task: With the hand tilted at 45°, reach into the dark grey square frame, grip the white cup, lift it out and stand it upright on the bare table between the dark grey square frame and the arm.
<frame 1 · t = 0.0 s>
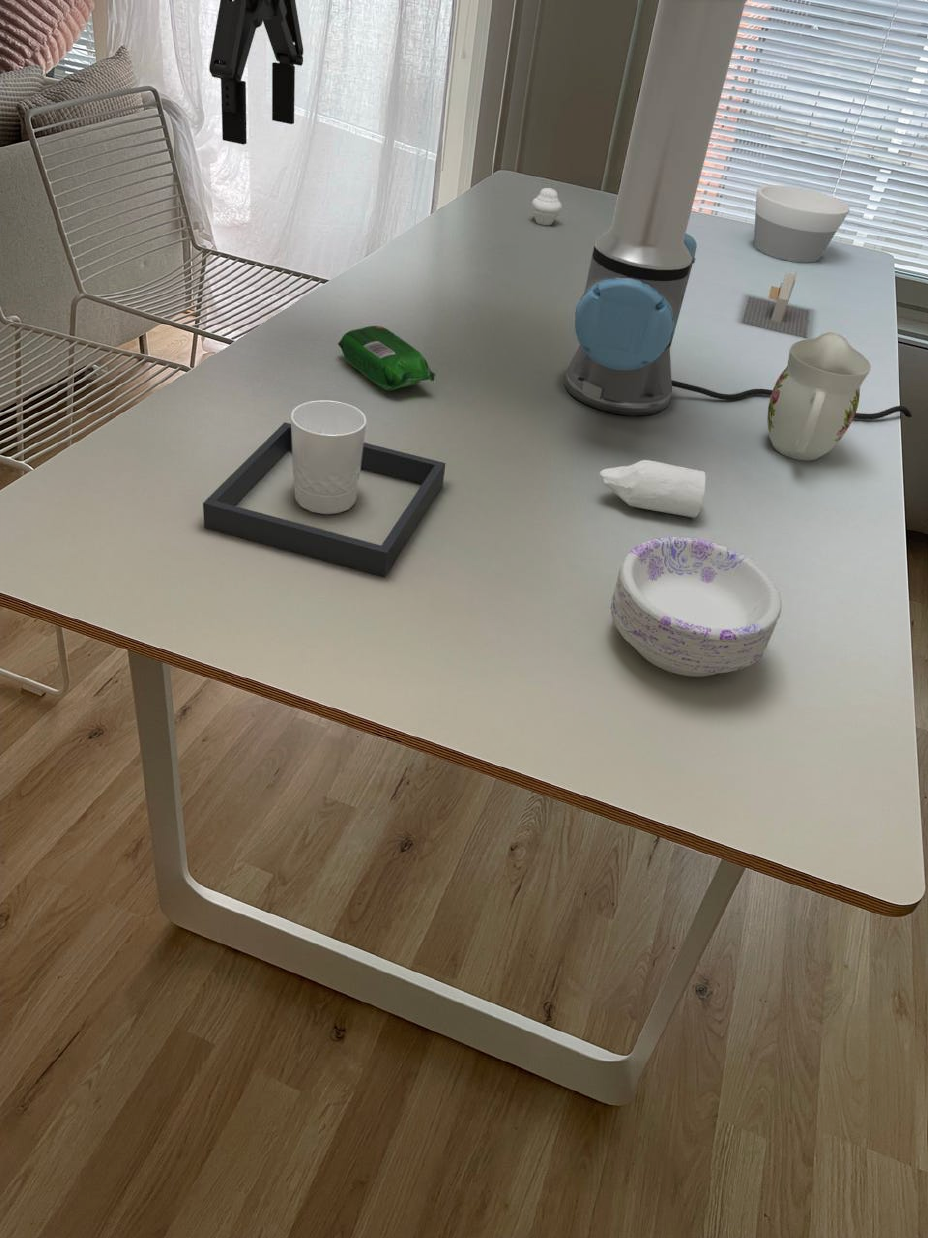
hand: (259, 131, 119), 28 cm above the table, tool pointing down, fingers open, 13 cm apart
snack package: (383, 377, 134), on the table
pitcher: (794, 452, 132), on the table
dark grey square frame: (330, 505, 107), on the table
white cup: (325, 499, 108), resting in dark grey square frame
white tapered cylinder: (643, 506, 115), on the table
architectural model: (776, 317, 174), on the table
muffin: (543, 223, 201), on the table
paper bowls: (679, 647, 95), on the table
bowl: (785, 251, 207), on the table
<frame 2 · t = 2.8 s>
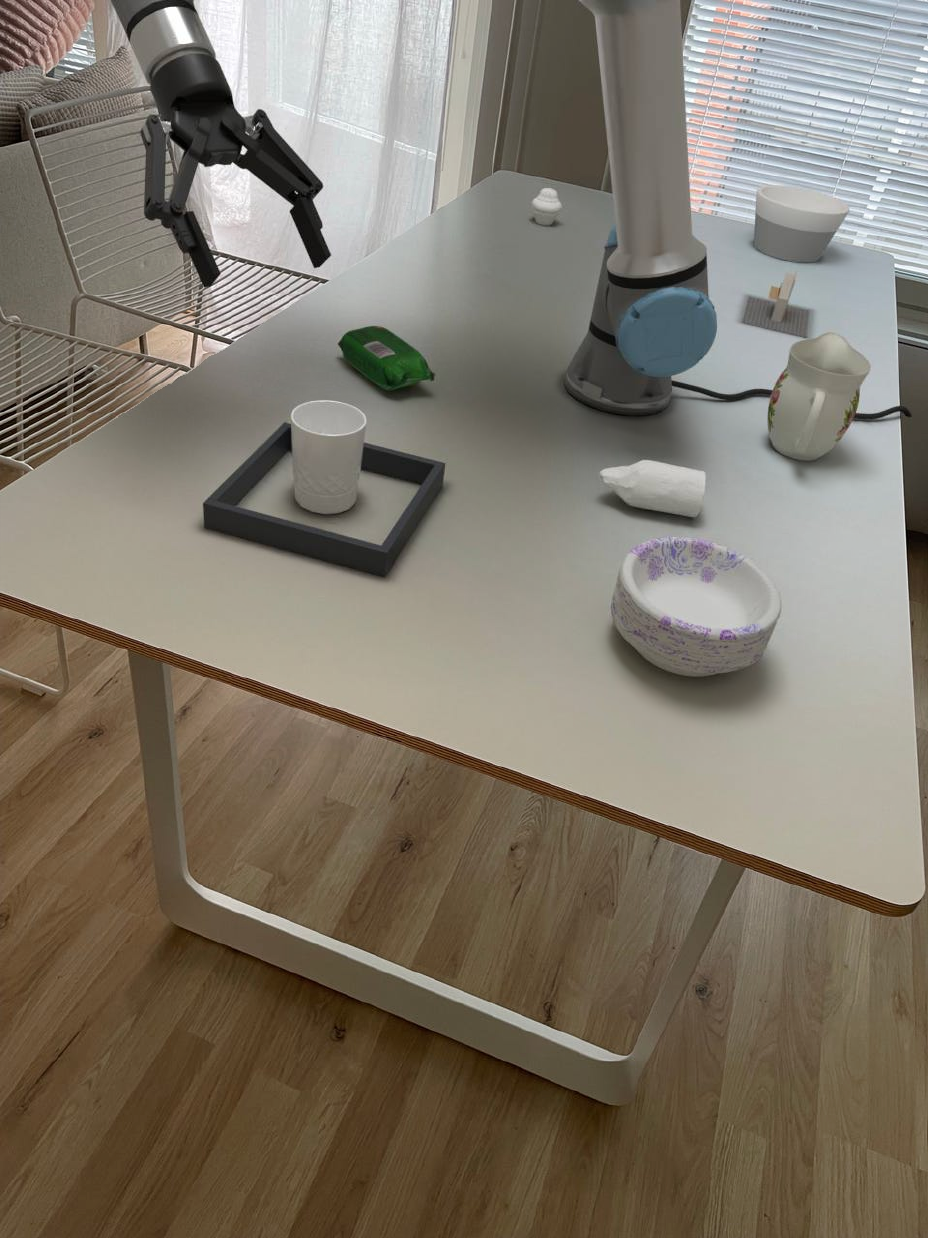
hand: (270, 271, 100), 22 cm above the table, tool tilted 45°, fingers open, 13 cm apart
nothing on the table moved.
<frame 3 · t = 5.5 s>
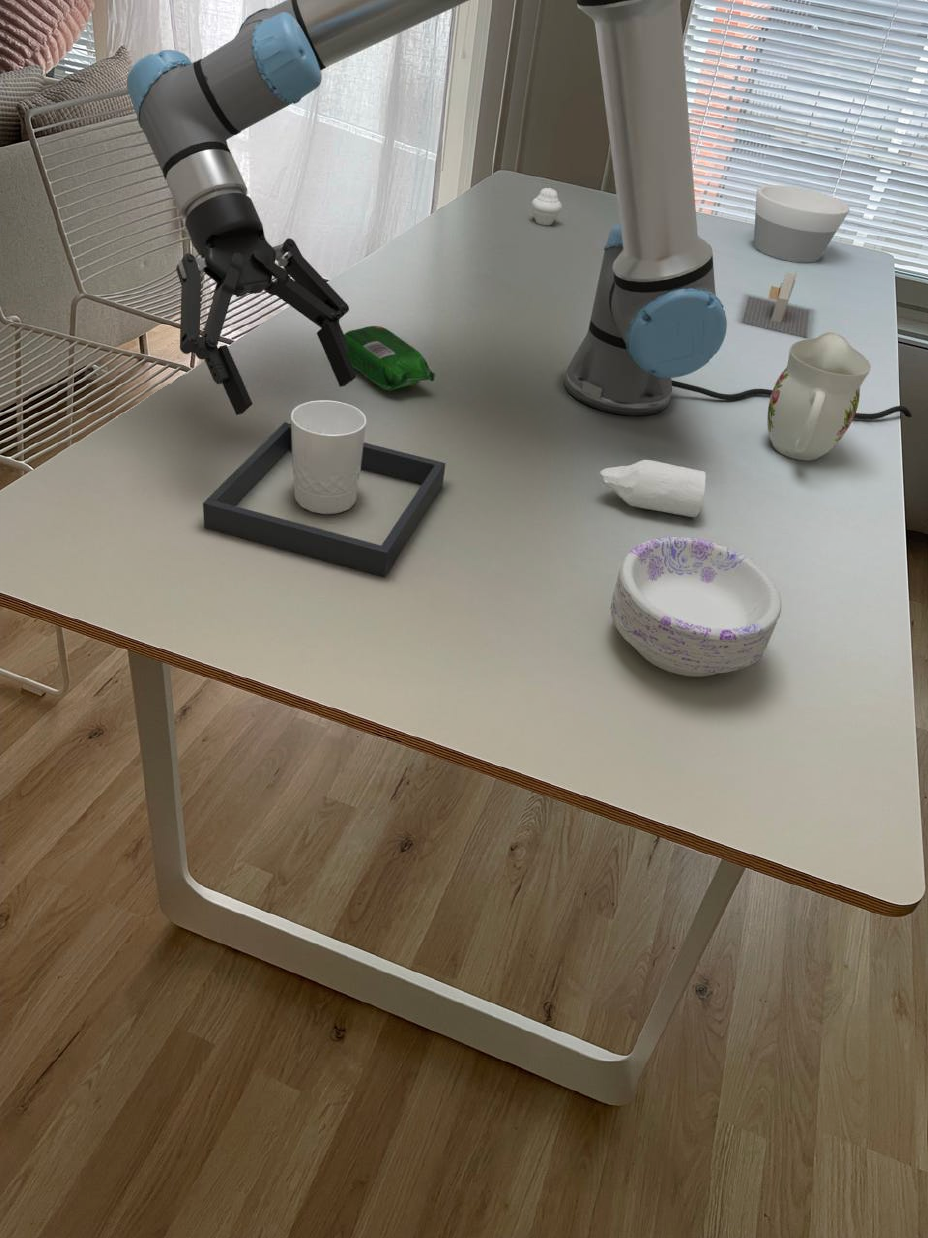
hand: (298, 395, 104), 10 cm above the table, tool tilted 45°, fingers open, 13 cm apart
nothing on the table moved.
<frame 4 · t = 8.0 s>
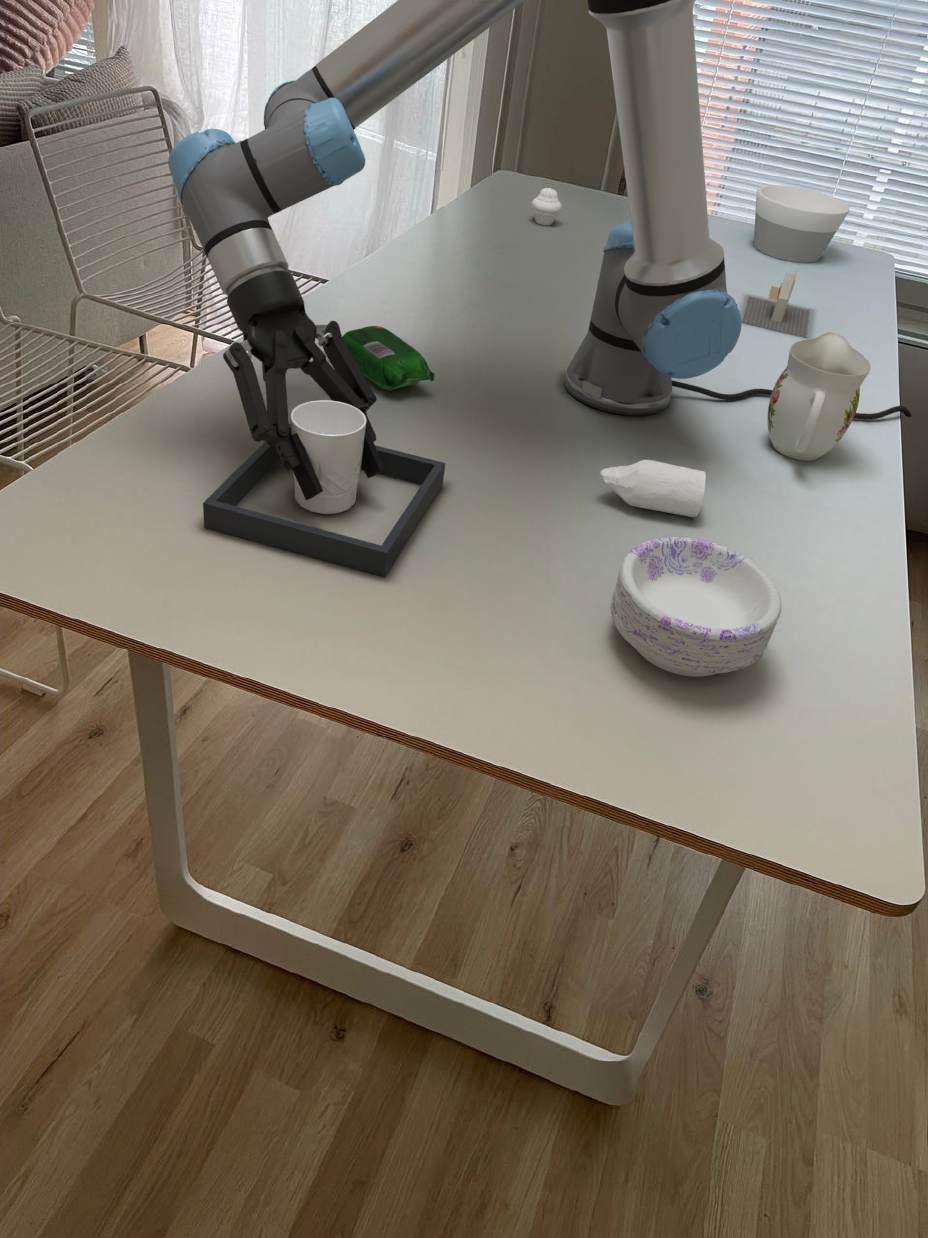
hand: (346, 484, 104), 4 cm above the table, tool tilted 45°, fingers closed on white cup, 8 cm apart
white cup: (325, 499, 108), resting in dark grey square frame, touching gripper
everything else where it was.
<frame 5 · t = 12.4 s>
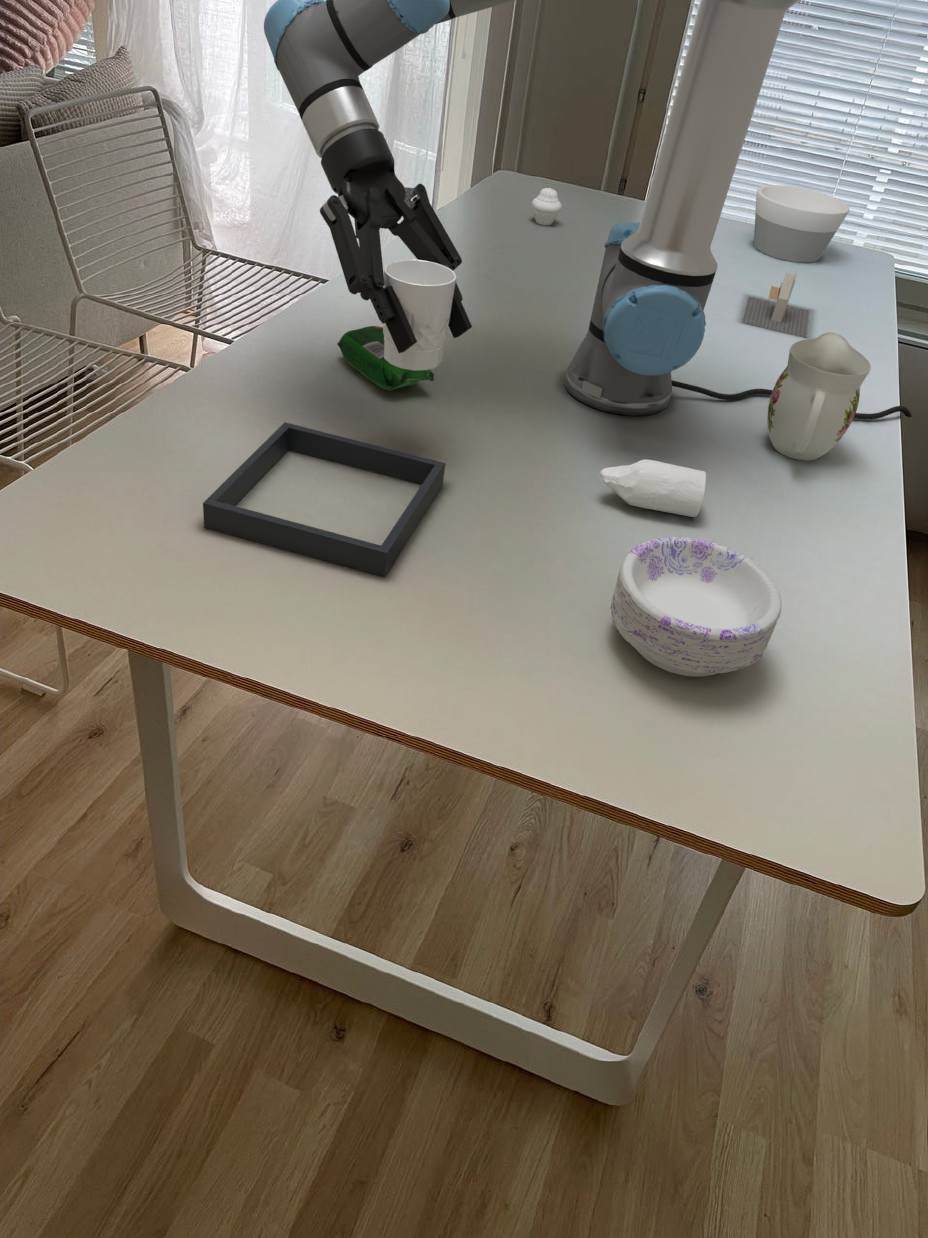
hand: (436, 339, 107), 15 cm above the table, tool tilted 45°, fingers closed on white cup, 8 cm apart
white cup: (412, 360, 111), point 12 cm above the table, touching gripper
everything else where it was.
when the fingers open (4 cm above the table, at t = 16.6 s): white cup stays where it is, on the table.
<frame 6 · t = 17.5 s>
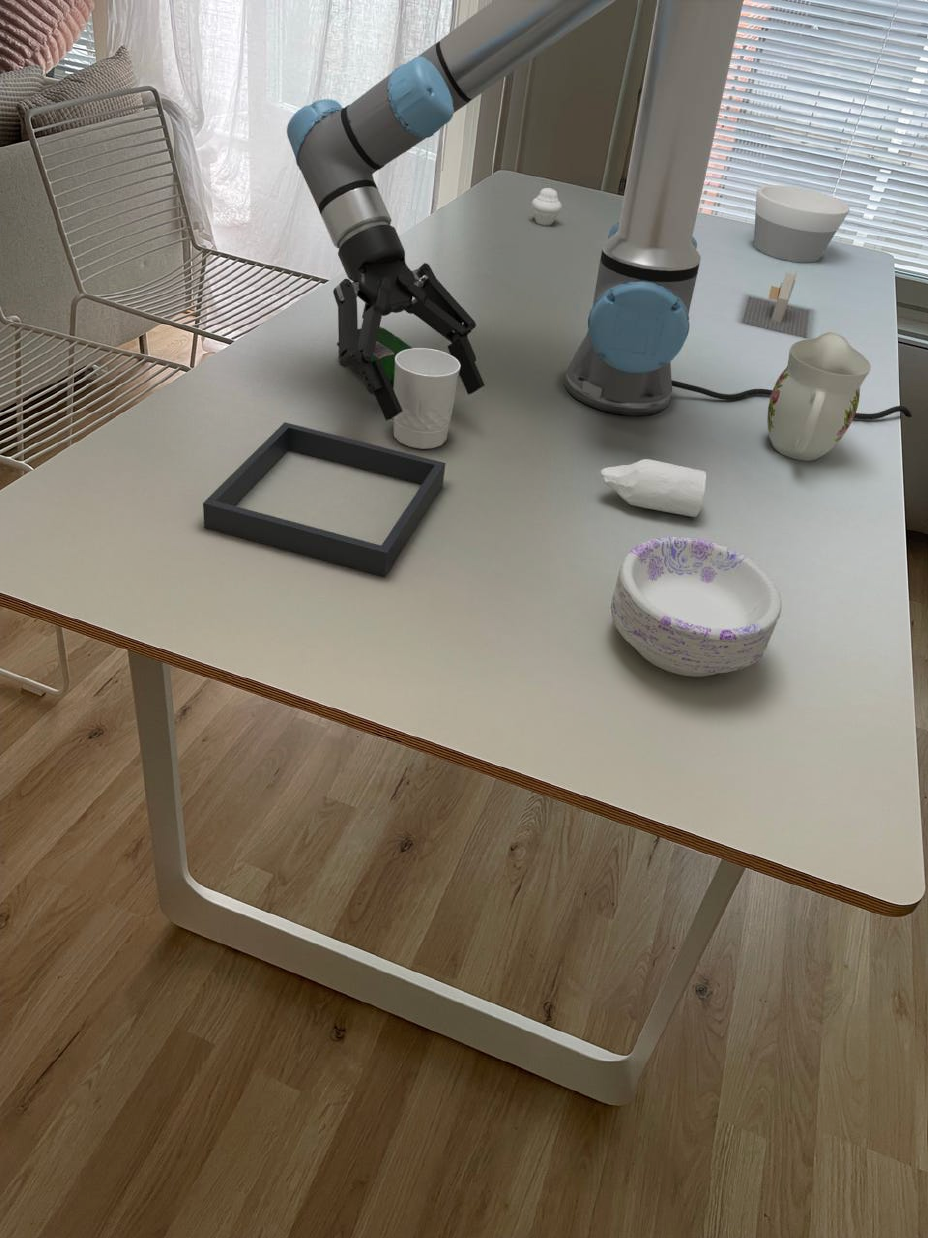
hand: (436, 402, 117), 6 cm above the table, tool tilted 45°, fingers open, 13 cm apart
white cup: (419, 437, 122), on the table
everything else where it was.
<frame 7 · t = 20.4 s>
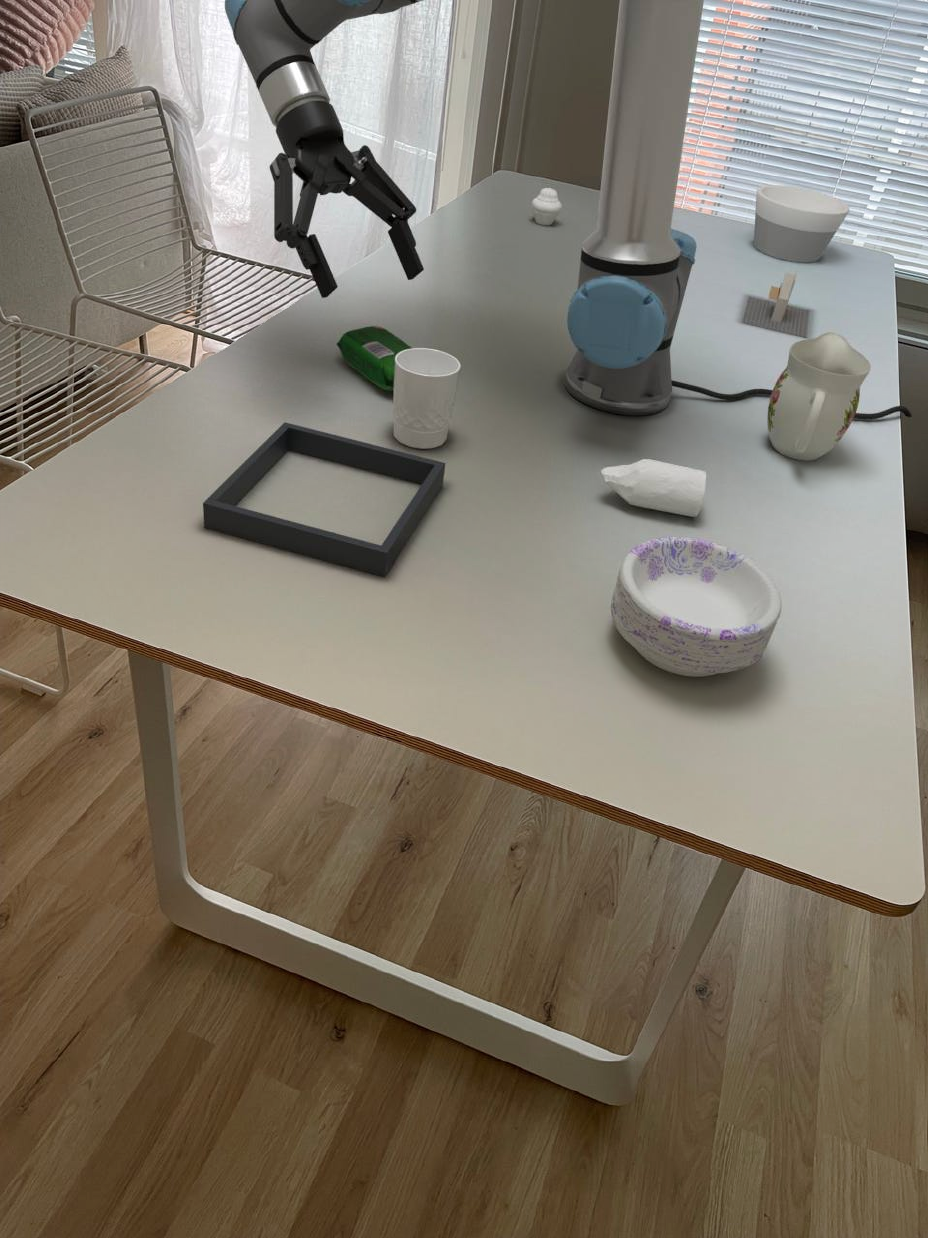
hand: (374, 283, 118), 16 cm above the table, tool tilted 45°, fingers open, 13 cm apart
nothing on the table moved.
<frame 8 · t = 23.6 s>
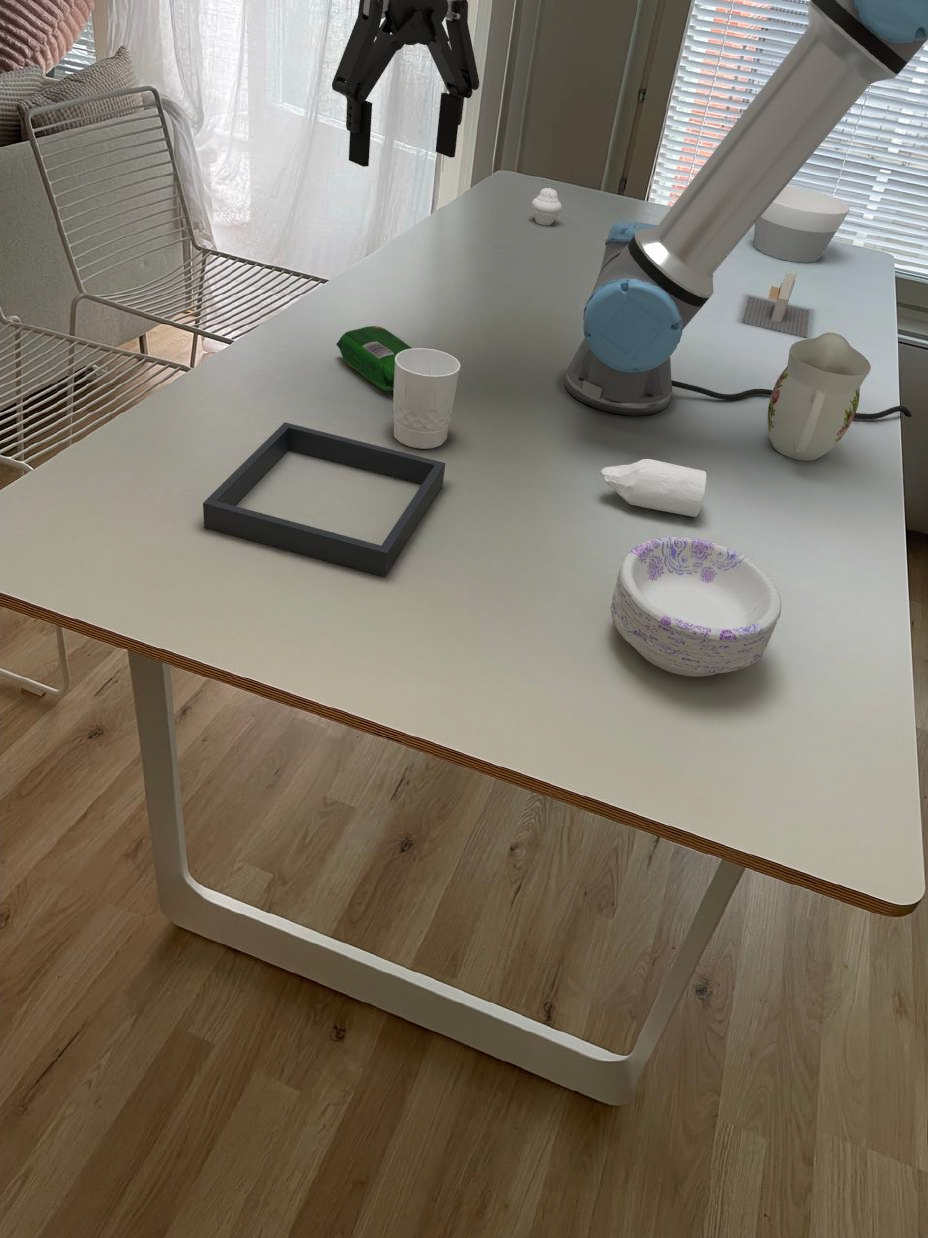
hand: (403, 158, 115), 29 cm above the table, tool pointing down, fingers open, 13 cm apart
nothing on the table moved.
at the end: white cup inside the target area (0.1 cm from its centre), on the table; white cup tilted 0°; the gripper is holding nothing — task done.
